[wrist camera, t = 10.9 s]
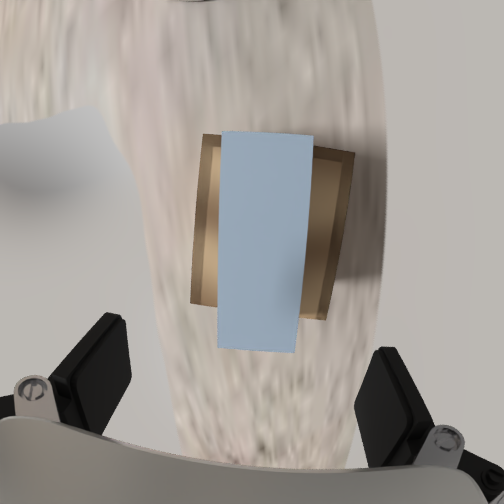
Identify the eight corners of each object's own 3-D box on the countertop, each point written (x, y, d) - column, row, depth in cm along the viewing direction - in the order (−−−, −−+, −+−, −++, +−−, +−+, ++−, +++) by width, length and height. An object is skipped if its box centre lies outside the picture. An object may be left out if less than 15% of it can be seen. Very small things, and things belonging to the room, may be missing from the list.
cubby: (222, 141, 28) (203, 133, 20) (333, 155, 27) (355, 152, 19) (210, 268, 31) (190, 303, 23) (313, 281, 30) (325, 320, 23)
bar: (234, 139, 20) (221, 131, 15) (304, 142, 20) (313, 135, 15) (228, 311, 23) (217, 347, 18) (290, 315, 23) (294, 352, 18)
